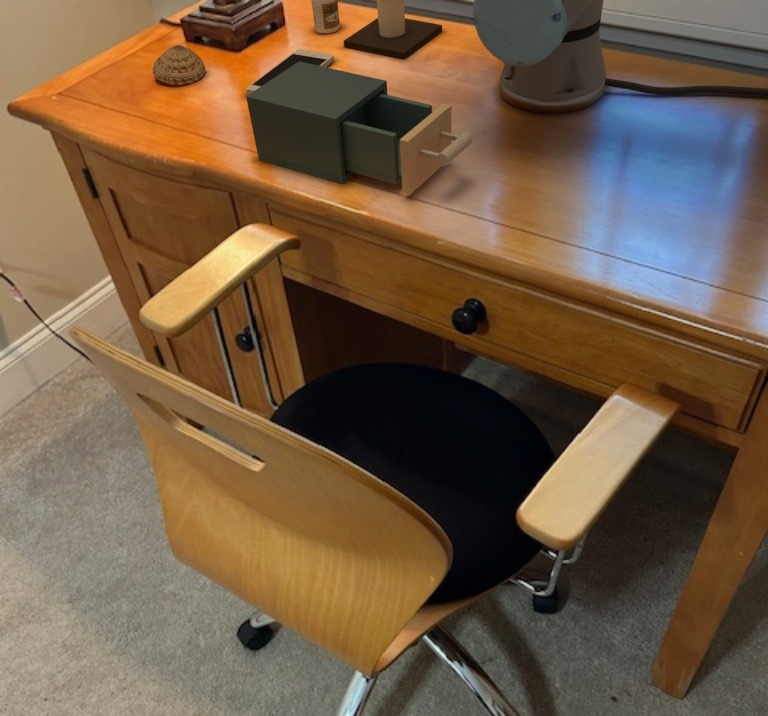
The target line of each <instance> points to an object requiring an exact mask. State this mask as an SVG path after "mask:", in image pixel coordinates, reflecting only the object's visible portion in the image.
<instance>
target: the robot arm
mask: <svg viewBox="0 0 768 716" xmlns="http://www.w3.org/2000/svg"><path fill="white" fill-rule="evenodd" d="M603 8H604V0H473V4H472V16H473V21H474V26H475V31H476V33H477V36H478V37H479V40H480V41H481V44H482V46H484V48H485V49H486V50H487V51H488V52H489V53H490V54H491V56H493V57H495V59H497V60H498V61H500V62H502V63H504V65H503V67H502V70H501V73H500V77H499V78H500V79H499V93H500V96H501V97H502V99H503V100H504V101H505V102H507V103H508V104H510V105H511V106H513V107H515V108H517V109H521V110H525V111H528V112H534V113H543V114H556V113H557V114H558V113H568V112H573V111H574V112H575V111H578V110H581V109H584V108H586V107H589V106H591V105H593V104H595V103H596V102H598V101H599V99H601V98H602V97H603V95H604V93H605V89H606V87H610V88H617V89H621V90H622V89H623V90H629V91H634V92H638V93H642V94H643V93H644V94H649V95H659V96H677V95H695V94H696V95H697V94H718V95H719V94H721V95H743V96H755V97H768V88H765V87H749V86H734V85H690V86H689V85H687V86H665V87H664V86H655V85H646V84H642V83H638V82H633V81H627V80H620V79H615V78H607V73H606V72H607V71H606V66H605V60H604V53H603V48H602V41H601V36H600V29H601V21H602V14H603Z"/></svg>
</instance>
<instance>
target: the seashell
mask: <svg viewBox="0 0 768 716" xmlns="http://www.w3.org/2000/svg"><path fill="white" fill-rule="evenodd" d="M205 74H206V66H205V62H204V61H203V59H202V58H201V56H199V54H197V53H196V52H195V51H193V50H192V49H191V48H188V47H186V46H184V45H181V44H176V45H173V46H171V47H169V48H167V49H166V50H165V51H164V52H163V53H162V54H161V55H159V56H158V57H157V58H156V60H155V61H154V63H153V66H152V75H153V76H154V77H155V79H156V80H158V81H159V82H161V83H163V84H167V85H171V86H186V85H190V84H193V83H196V82H199V80H201V79H202V78H203V77H204V76H205Z"/></svg>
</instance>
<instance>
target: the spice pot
mask: <svg viewBox="0 0 768 716" xmlns="http://www.w3.org/2000/svg"><path fill="white" fill-rule="evenodd" d="M376 4H377V5H376V6H377V8H376V9H377V18H378V23H379V34H380V35H381V36H383V37H387V38H393V37H398V36H401V35H403V34H404V33H405V18H406V16H405V15H406V13H405V12H406V11H405V0H376Z"/></svg>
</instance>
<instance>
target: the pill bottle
mask: <svg viewBox="0 0 768 716" xmlns="http://www.w3.org/2000/svg"><path fill="white" fill-rule="evenodd" d="M310 1H311V7H312V15H313V24H314V30H315V32H316V33H318V34H332V33H335V32H337V31H338V30H339V29H340V28H341V23H340V12H339V11H340V10H339V2H338V1H339V0H310Z"/></svg>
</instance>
